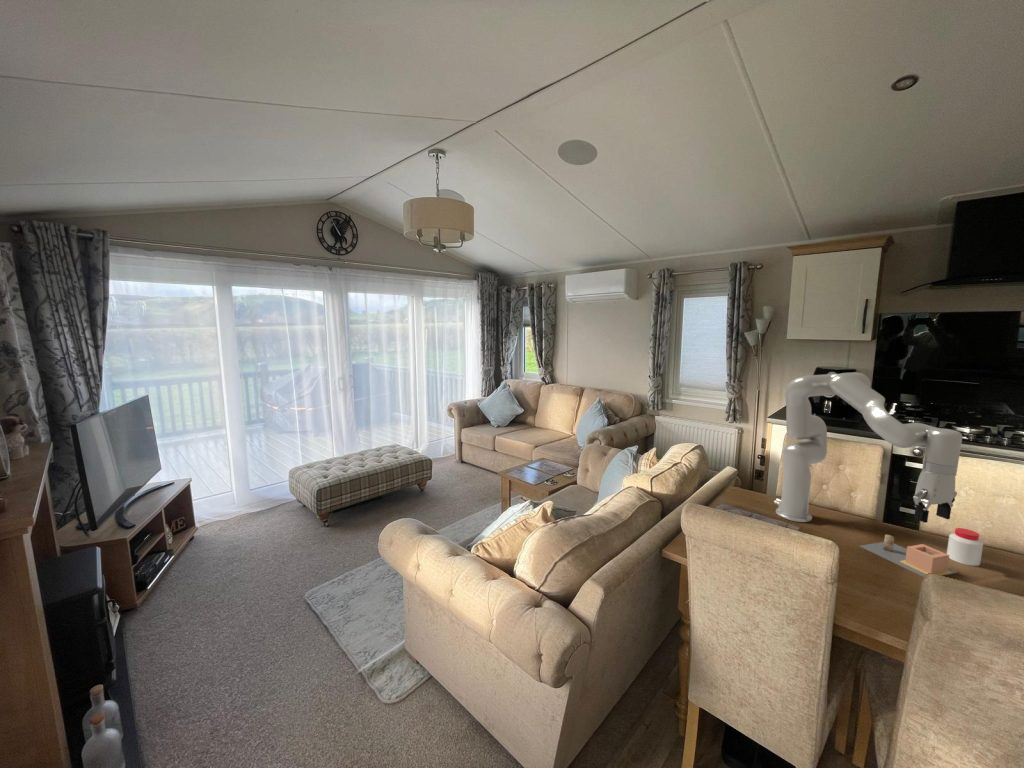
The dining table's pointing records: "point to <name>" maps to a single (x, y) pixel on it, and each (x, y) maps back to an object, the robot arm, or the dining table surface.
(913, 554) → the tan boxy piece
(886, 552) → the post board
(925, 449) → the robot arm
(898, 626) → the dining table surface
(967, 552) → the pill bottle
